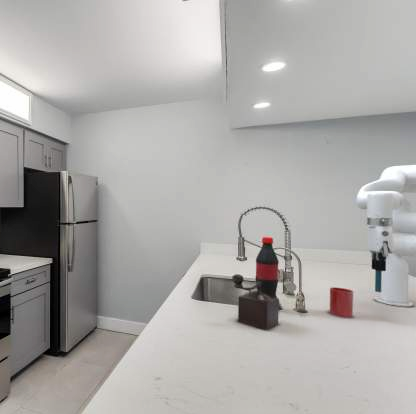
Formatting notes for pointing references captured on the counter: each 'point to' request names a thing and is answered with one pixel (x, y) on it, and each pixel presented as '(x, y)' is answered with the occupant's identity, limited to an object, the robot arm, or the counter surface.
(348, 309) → the can
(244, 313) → the manual coffee grinder
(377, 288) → the straw
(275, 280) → the cola bottle
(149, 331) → the counter surface
